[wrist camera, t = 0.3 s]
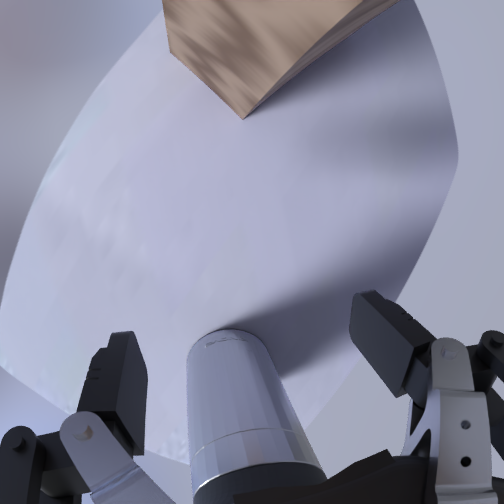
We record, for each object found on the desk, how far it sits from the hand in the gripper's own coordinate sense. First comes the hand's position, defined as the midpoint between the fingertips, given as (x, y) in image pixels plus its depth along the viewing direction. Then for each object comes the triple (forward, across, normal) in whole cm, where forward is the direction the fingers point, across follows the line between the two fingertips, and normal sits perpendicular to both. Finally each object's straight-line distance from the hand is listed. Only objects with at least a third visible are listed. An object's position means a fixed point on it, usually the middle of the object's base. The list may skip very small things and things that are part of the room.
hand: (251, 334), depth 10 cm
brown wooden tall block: (+21, +7, +17) cm, 28 cm away
